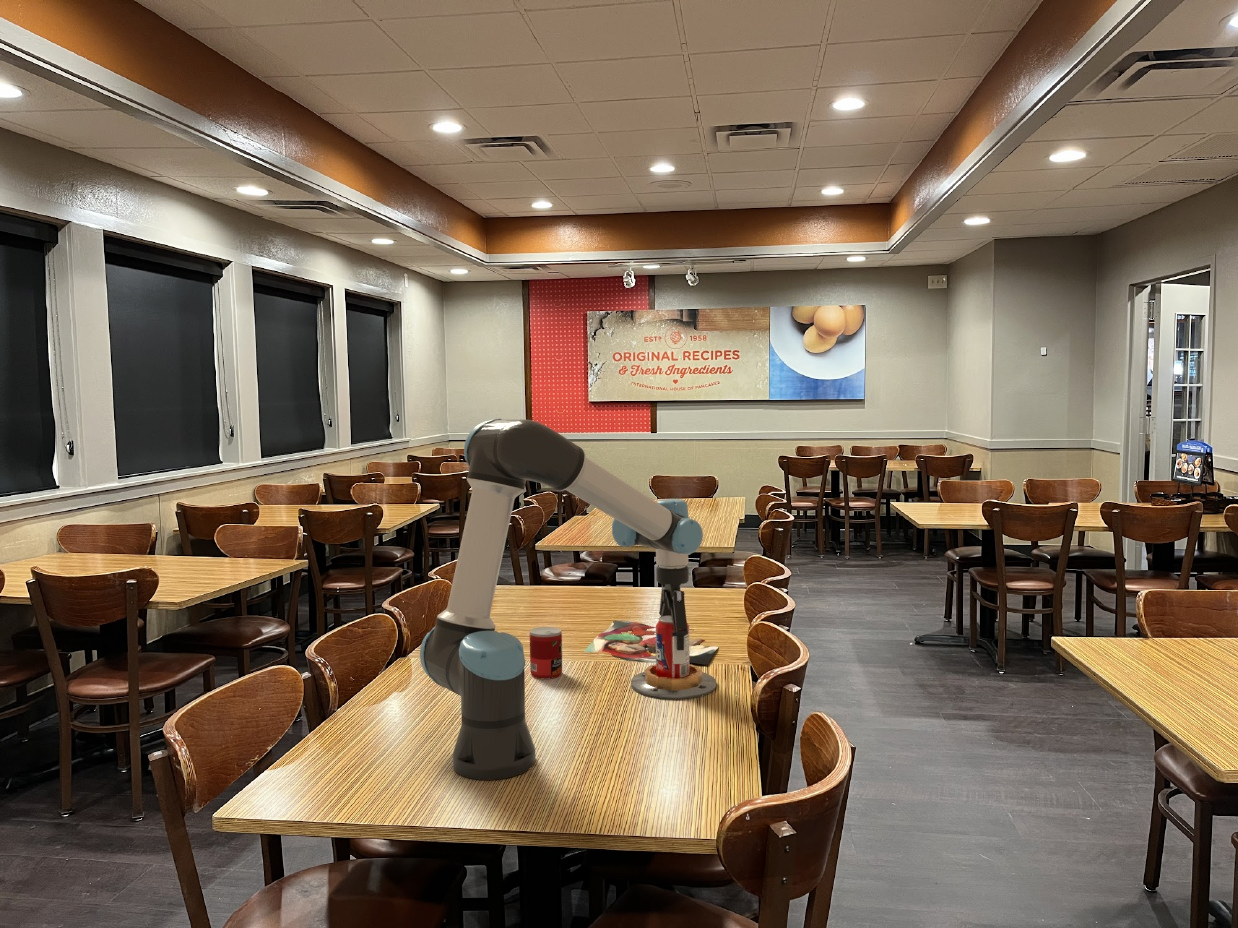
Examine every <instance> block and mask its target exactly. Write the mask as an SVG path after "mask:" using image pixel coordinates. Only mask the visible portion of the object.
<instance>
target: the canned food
mask: <svg viewBox="0 0 1238 928" xmlns="http://www.w3.org/2000/svg"><path fill="white" fill-rule="evenodd" d="M562 633H563V631H562V629H561V628H560V627H559V628H558V627H554V626H539V627H538V626H537V627H534V628H532V629H530V630H529V671H530V674H531V676H532V677H534V678H535V677H536V679H540V678H544V679H543V680H546V679H548V678H550V679H555V677H556V678H559V677H560V676H561V675H562V673H563V634H562ZM548 680H549V679H548Z"/></svg>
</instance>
